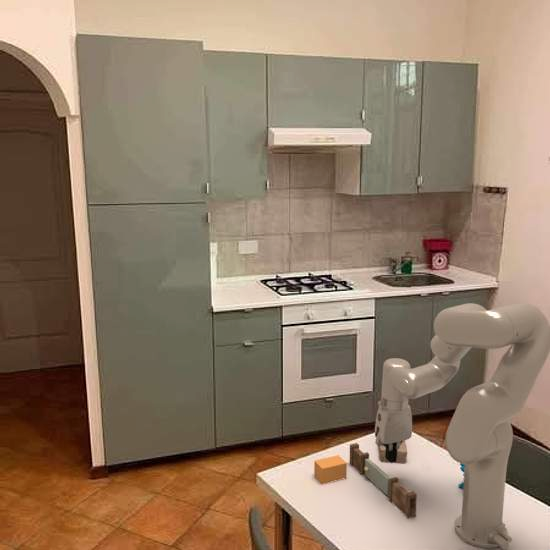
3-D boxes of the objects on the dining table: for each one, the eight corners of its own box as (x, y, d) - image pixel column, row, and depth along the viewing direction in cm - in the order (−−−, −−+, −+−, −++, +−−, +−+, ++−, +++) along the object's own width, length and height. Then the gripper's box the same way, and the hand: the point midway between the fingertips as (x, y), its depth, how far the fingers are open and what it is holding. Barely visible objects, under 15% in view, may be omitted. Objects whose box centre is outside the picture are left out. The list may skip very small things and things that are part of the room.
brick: (407, 464, 178) (407, 450, 177) (379, 463, 179) (379, 449, 178) (402, 439, 194) (403, 426, 193) (377, 438, 195) (377, 425, 194)
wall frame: (415, 516, 152) (416, 493, 151) (408, 518, 151) (409, 496, 150) (356, 462, 179) (356, 442, 178) (349, 464, 178) (349, 444, 177)
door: (393, 496, 160) (393, 480, 159) (385, 498, 159) (386, 481, 158) (368, 473, 172) (368, 458, 171) (361, 475, 171) (361, 460, 170)
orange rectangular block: (346, 478, 170) (346, 463, 169) (322, 484, 167) (322, 468, 166) (338, 470, 175) (338, 455, 174) (314, 476, 172) (314, 460, 171)
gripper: (379, 412, 158) (376, 472, 162) (424, 403, 164) (419, 461, 168) (364, 400, 165) (361, 459, 169) (408, 392, 171) (404, 449, 175)
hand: (390, 460), depth 169 cm, fingers closed
